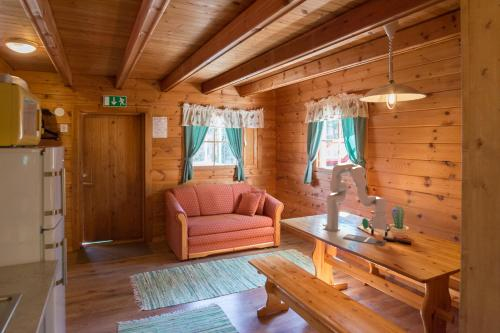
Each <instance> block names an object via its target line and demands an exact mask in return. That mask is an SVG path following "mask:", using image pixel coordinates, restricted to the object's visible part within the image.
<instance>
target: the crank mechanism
mask: <svg viewBox="0 0 500 333" xmlns="http://www.w3.org/2000/svg"><path fill="white" fill-rule="evenodd" d="M373 211H374V210H370V213H371V214H373V215H375V214H374V213H373ZM373 215H372V216H371V220H369V221H368V219H367V218H366V217H363V218H362V222H361V224H362V225H359V226H356V227H357V229H358V230H360V231H362V232H364V233H366V234H368V235H369V236H372V237H375V236H376V235H377V234H380V233H378V232H377V231H375V228H373V229H374V234H373V235H372V234H371V229H370V228H369V226H368V223H371V222H372V220H373Z"/></svg>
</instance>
